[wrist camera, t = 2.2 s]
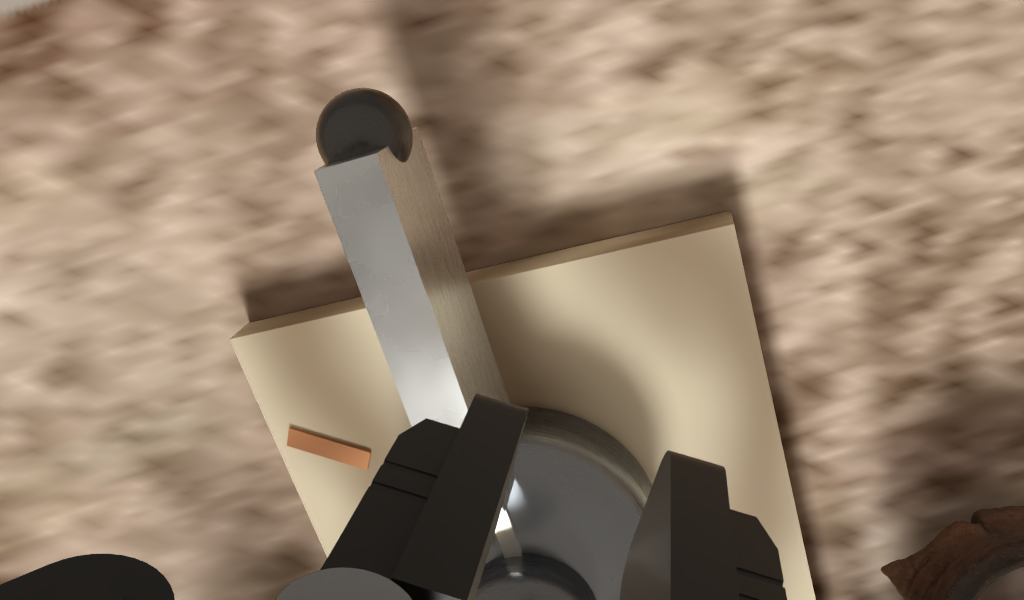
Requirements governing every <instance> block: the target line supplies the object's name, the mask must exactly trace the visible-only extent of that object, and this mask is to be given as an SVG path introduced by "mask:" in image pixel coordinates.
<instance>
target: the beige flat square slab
mask: <svg viewBox="0 0 1024 600" xmlns="http://www.w3.org/2000/svg"><path fill="white" fill-rule="evenodd" d="M466 274H467V277H468V280H469V283H470V286H471V289H472V292H473V295H474V298H475V301H476V304H477V307H478V310H479V313H480V316H481V319H482V322H483V325H484V328H485V331H486V334H487V337H488V340H489V343H490V346H491V349H492V352H493V355H494V358H495V361H496V364H497V367H498V370H499V373H500V376H501V379H502V382H503V385H504V387H505V390H506V393H507V396H508V399H509V402H510V403H511V404H514V405H518V406H532V407H541V408H549V409H553V410H557V411H561V412H565V413H568V414H571V415H574V416H577V417H579V418H582V419H584V420H586V421H588V422H590V423H592V424H594V425H596V426H598V427H599V428H601V429H602V430H604V431H605V432H607V433H609V434H610V435H611V436H613V437H614V438H615V439H616V440H617V441H619V442H620V443H621V444H622V445H624V447H625V448H626V449H627V450H628V451H629V452H630V453H631V454H632V455H633V456H634V457H635V458H636V460H637V461H638V463H639V464H640V465H641V467H642V468H643V469H644V471H645V473H646V475H647V477H648V479H649V480H650V482H651V484H652V485H653V482H654V479H655V477H656V474H657V471H658V468H659V466H660V463H661V461H662V459H663V457H664V455H665V453H666V452H667V451H668V450H670V451H673V452H677V453H680V454H683V455H687V456H690V457H694V458H697V459H700V460H704V461H707V462H711V463H714V464H717V465H721V466H723V467H725V470H726V476H727V486H728V495H729V504H730V509H732V510H735V511H738V512H742V513H745V514H748V515H752V516H755V517H757V518H758V520H759V521H760V523H761V524H762V526H763V527H764V529H765V530H766V532H767V533H768V535H769V536H770V538H771V539H772V541H773V542H774V544H775V545H776V547H777V548H778V552H779V557H780V563H781V568H782V574H783V579H784V582H783V587H784V588H785V590H786V595H787V600H816V598H815V594H814V589H813V585H812V580H811V575H810V571H809V566H808V562H807V557H806V552H805V548H804V543H803V539H802V534H801V529H800V525H799V520H798V515H797V511H796V506H795V502H794V497H793V492H792V488H791V483H790V479H789V474H788V469H787V465H786V460H785V456H784V451H783V446H782V442H781V437H780V433H779V428H778V423H777V419H776V414H775V410H774V405H773V400H772V396H771V391H770V387H769V382H768V377H767V373H766V368H765V364H764V359H763V354H762V350H761V345H760V341H759V336H758V331H757V327H756V322H755V318H754V313H753V308H752V304H751V299H750V295H749V290H748V285H747V281H746V276H745V272H744V267H743V262H742V258H741V253H740V249H739V244H738V239H737V235H736V230H735V226H734V221H733V217H732V213H731V211H726V212H722V213H718V214H714V215H709V216H705V217H701V218H696V219H692V220H688V221H683V222H679V223H675V224H671V225H666V226H662V227H658V228H653V229H649V230H645V231H641V232H636V233H632V234H628V235H623V236H619V237H615V238H611V239H606V240H602V241H598V242H593V243H589V244H585V245H581V246H576V247H572V248H568V249H563V250H559V251H555V252H551V253H546V254H542V255H538V256H533V257H529V258H525V259H521V260H516V261H512V262H508V263H503V264H499V265H495V266H491V267H486V268H482V269H478V270H473V271H469V272H466ZM229 340H230V342H231V344H232V346H233V349H234V351H235V353H236V355H237V358H238V360H239V362H240V364H241V367H242V369H243V371H244V373H245V375H246V378H247V380H248V382H249V384H250V387H251V389H252V391H253V393H254V396H255V398H256V400H257V402H258V404H259V407H260V409H261V411H262V413H263V416H264V418H265V420H266V422H267V425H268V427H269V429H270V431H271V434H272V436H273V438H274V440H275V442H276V445H277V447H278V449H279V451H280V454H281V456H282V458H283V460H284V463H285V465H286V467H287V469H288V471H289V474H290V476H291V478H292V480H293V483H294V485H295V487H296V489H297V492H298V494H299V496H300V498H301V500H302V503H303V505H304V507H305V509H306V512H307V514H308V516H309V518H310V521H311V523H312V525H313V527H314V530H315V532H316V534H317V536H318V538H319V541H320V543H321V545H322V547H323V550H324V552H325V554H326V556H327V558H328V556H329V554H330V553H331V551H332V549H333V548H334V546H335V544H336V542H337V541H338V539H339V537H340V535H341V534H342V532H343V530H344V529H345V527H346V525H347V523H348V522H349V520H350V518H351V516H352V515H353V513H354V511H355V510H356V508H357V506H358V504H359V503H360V501H361V499H362V497H363V496H364V494H365V492H366V491H367V489H368V487H369V486H371V483H372V480H373V478H374V477H375V475H376V473H377V472H378V470H379V468H380V466H381V465H383V463H384V459H385V458H386V456H387V454H388V453H389V451H390V449H391V447H392V446H393V444H394V442H395V440H396V439H397V437H398V435H399V434H401V433H403V432H404V431H406V430H408V429H409V428H411V427H412V426H411V424H410V421H409V418H408V416H407V413H406V411H405V408H404V405H403V403H402V400H401V397H400V395H399V392H398V390H397V387H396V384H395V382H394V379H393V377H392V374H391V371H390V369H389V366H388V364H387V361H386V358H385V356H384V353H383V350H382V348H381V345H380V343H379V340H378V337H377V335H376V332H375V330H374V327H373V324H372V322H371V319H370V317H369V314H368V311H367V309H366V306H365V303H364V301H363V298H362V297H358V298H353V299H349V300H345V301H340V302H336V303H332V304H328V305H323V306H319V307H315V308H310V309H306V310H302V311H298V312H293V313H289V314H285V315H280V316H276V317H272V318H267V319H263V320H259V321H255V322H250V323H248V324H247V325H246V326H245V327H243V328H242V329H241V330H240V331H239V332H238V333H236V334H235V335H234V336H233V337H232V338H230V339H229Z"/></svg>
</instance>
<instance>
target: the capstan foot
mask: <svg viewBox="0 0 1024 600" xmlns="http://www.w3.org/2000/svg"><path fill="white" fill-rule="evenodd" d="M316 142H317V147H318V150H319V153H320V155H321V157H322V159H323V161H324V163H325V165H323V166H322V167H320V168H318V169H317V170H315V171H314V173H315V176H316V178H317V181H318V183H319V186H320V189H321V191H322V194H323V196H324V199H325V202H326V204H327V207H328V210H329V212H330V215H331V217H332V220H333V223H334V225H335V228H336V230H337V233H338V236H339V238H340V241H341V243H342V246H343V249H344V251H345V254H346V257H347V259H348V262H349V264H350V267H351V270H352V272H353V275H354V277H355V280H356V283H357V285H358V288H359V290H360V293H361V296H362V298H363V301H364V303H365V306H366V309H367V311H368V314H369V317H370V319H371V322H372V324H373V327H374V330H375V332H376V335H377V337H378V340H379V343H380V345H381V348H382V350H383V353H384V356H385V358H386V361H387V364H388V366H389V369H390V371H391V374H392V377H393V379H394V382H395V384H396V387H397V390H398V392H399V395H400V397H401V400H402V403H403V405H404V408H405V411H406V413H407V416H408V418H409V421H410V424H411V426H412V427H413V426H414V425H416V424H418V423H419V422H421V421H423V420H424V419H426V418H427V419H431V420H434V421H437V422H441V423H444V424H447V425H451V426H454V427H457V428H460V427H461V425H462V422H463V420H464V418H465V416H466V414H467V411H468V409H469V407H470V405H471V403H472V400H473V398H474V396H475V395H476V394H480V395H484V396H487V397H490V398H494V399H497V400H501V401H504V402H507V403H510V402H509V399H508V396H507V393H506V390H505V387H504V385H503V382H502V379H501V376H500V373H499V370H498V367H497V364H496V361H495V358H494V355H493V352H492V349H491V346H490V343H489V340H488V337H487V334H486V331H485V328H484V325H483V322H482V319H481V316H480V313H479V310H478V307H477V304H476V301H475V298H474V295H473V292H472V289H471V286H470V283H469V280H468V277H467V274H466V271H465V268H464V265H463V262H462V259H461V256H460V253H459V250H458V247H457V244H456V241H455V238H454V235H453V232H452V229H451V226H450V223H449V220H448V217H447V214H446V211H445V208H444V205H443V203H442V200H441V197H440V194H439V191H438V188H437V185H436V182H435V179H434V176H433V173H432V170H431V167H430V164H429V161H428V158H427V155H426V152H425V149H424V146H423V143H422V140H421V137H420V134H419V131H418V128H417V127H416V128H413V129H412V127H411V123H410V120H409V118H408V116H407V114H406V112H405V111H404V109H403V108H402V107H401V106H400V104H399V103H398V102H397V101H395V100H394V99H393V98H392V97H390V96H389V95H387V94H385V93H383V92H381V91H378V90H375V89H369V88H356V89H351V90H347V91H345V92H342V93H341V94H339V95H337V96H336V97H334V98H333V99H332V100H331V101H330V102H329V103H328V104H327V105H326V106H325V108H324V109H323V111H322V113H321V115H320V117H319V120H318V123H317V128H316ZM521 407H524V408H528V409H529V411H528V415H527V418H526V422H525V426H524V430H523V433H522V437H521V440H520V444H519V448H518V451H517V455H516V459H515V462H514V466H513V469H512V473H511V477H510V480H509V484H508V488H507V491H506V495H505V499H504V502H503V506H502V509H501V513H500V516H499V520H498V523H497V527H496V530H495V534H494V537H493V540H492V544H491V547H490V550H489V553H488V557H487V560H486V563H485V566H484V570H483V573H482V576H481V579H480V583H479V586H478V589H477V592H476V595H475V599H474V600H620V591H621V583H622V577H623V572H624V568H625V563H626V559H627V556H628V552H629V549H630V545H631V542H632V539H633V537H634V534H635V531H636V529H637V526H638V523H639V520H640V518H641V515H642V512H643V509H644V507H645V504H646V501H647V499H648V496H649V493H650V490H651V488H652V484H651V482H650V480H649V479H648V477H647V475H646V473H645V471H644V469H643V468H642V467H641V465H640V464H639V463H638V461H637V460H636V458H635V457H634V456H633V455H632V454H631V453H630V452H629V451H628V450H627V449H626V448H625V447H624V445H622V444H621V443H620V442H619V441H617V440H616V439H615V438H614V437H613V436H611V435H610V434H609V433H607V432H605V431H604V430H602V429H601V428H599V427H598V426H596V425H594V424H592V423H590V422H588V421H586V420H584V419H582V418H579V417H577V416H574V415H571V414H568V413H565V412H561V411H557V410H553V409H549V408H541V407H532V406H521Z"/></svg>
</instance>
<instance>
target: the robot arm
mask: <svg viewBox="0 0 1024 600" xmlns="http://www.w3.org/2000/svg"><path fill="white" fill-rule="evenodd" d="M528 411H529V409H528V408H524V407H521V406H518V405H514V404H511V403H507V402H504V401H501V400H497V399H494V398H490V397H487V396H484V395H480V394H476V395H475V396H474V398H473V400H472V403H471V405H470V407H469V409H468V411H467V414H466V416H465V418H464V420H463V422H462V425H461V427H460V428H457V427H454V426H451V425H447V424H444V423H441V422H437V421H434V420H431V419H427V418H426V419H424V420H423V421H421V422H419V423H418V424H416V425H414V426H413V427H411V428H409V429H408V430H406V431H404V432H403V433H401V434H399V435H398V437H397V439H396V440H395V442H394V444H393V446H392V447H391V449H390V451H389V453H388V454H387V456H386V458H385V459H384V463H383V465H381V466H380V468H379V470H378V472H377V473H376V475H375V477H374V478H373V480H372V483H371V486H369V487H368V489H367V491H366V492H365V494H364V496H363V497H362V499H361V501H360V503H359V504H358V506H357V508H356V510H355V511H354V513H353V515H352V516H351V518H350V520H349V522H348V523H347V525H346V527H345V529H344V530H343V532H342V534H341V535H340V537H339V539H338V541H337V542H336V544H335V546H334V548H333V549H332V551H331V553H330V554H329V556H328V558H327V560H326V561H325V563H324V565H323V567H322V568H321V569H320V570H319V571H316V572H313V573H310V574H307V575H305V576H303V577H301V578H299V579H297V580H295V581H294V582H293V583H291V584H290V585H289V586H287V587H286V588H285V589H284V590H283V591H282V592H281V593H280V594H279V595H278V597H277V598H276V600H474V599H475V595H476V592H477V589H478V586H479V583H480V579H481V576H482V573H483V570H484V566H485V563H486V560H487V557H488V553H489V550H490V547H491V544H492V540H493V537H494V534H495V530H496V527H497V523H498V520H499V516H500V513H501V509H502V506H503V502H504V499H505V495H506V491H507V488H508V484H509V480H510V477H511V473H512V469H513V466H514V462H515V459H516V455H517V451H518V448H519V444H520V440H521V437H522V433H523V430H524V426H525V422H526V418H527V415H528ZM783 582H784V579H783V574H782V568H781V563H780V557H779V552H778V548H777V547H776V545H775V544H774V542H773V541H772V539H771V538H770V536H769V535H768V533H767V532H766V530H765V529H764V527H763V526H762V524H761V523H760V521H759V520H758V518H757V517H755V516H752V515H748V514H745V513H742V512H738V511H735V510H732V509H730V504H729V495H728V486H727V476H726V470H725V467H723V466H721V465H717V464H714V463H711V462H707V461H704V460H700V459H697V458H694V457H690V456H687V455H683V454H680V453H677V452H673V451H670V450H668V451H667V452H666V453H665V455H664V457H663V459H662V461H661V463H660V466H659V468H658V471H657V474H656V477H655V479H654V482H653V485H652V488H651V490H650V493H649V496H648V499H647V501H646V504H645V507H644V509H643V512H642V515H641V518H640V520H639V523H638V526H637V529H636V531H635V534H634V537H633V539H632V542H631V545H630V549H629V552H628V556H627V559H626V563H625V568H624V572H623V577H622V583H621V591H620V600H787V595H786V590H785V588H784V587H783ZM0 600H174V593H173V591H172V588H171V586H170V584H169V582H168V581H167V579H166V578H165V577H164V576H163V575H162V574H161V573H160V572H159V571H158V570H157V569H156V568H154V567H152V566H151V565H149V564H147V563H145V562H143V561H140V560H138V559H135V558H131V557H127V556H123V555H114V554H90V555H82V556H76V557H72V558H68V559H63V560H60V561H58V562H55V563H52V564H49V565H47V566H44V567H42V568H39V569H37V570H35V571H32V572H30V573H27V574H25V575H23V576H20V577H18V578H15V579H13V580H11V581H8V582H6V583H3V584H1V585H0Z"/></svg>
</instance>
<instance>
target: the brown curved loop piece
mask: <svg viewBox="0 0 1024 600" xmlns="http://www.w3.org/2000/svg"><path fill="white" fill-rule="evenodd" d="M1022 567H1024V506H1009V507H1002V508H992V509H982V510H978V511H976V512H975V513H974V514H973V515H972V519H971V523H968V522H964V521H956V522H954V523H952V524H951V525H949V526H948V527H946V528H945V529H944V530H942V531H941V532H940V533H939V534H938V535H937V537H936V538H935V539H934V540H933V541H931V542H930V543H929V544H928V545H927V546H925V547H924V548H923V549H921V550H920V551H918V552H917V553H915V554H913V555H911V556H909V557H907V558H905V559H902V560H896V561H894V562H891V563H889V564H887V565H885V566H883V567H882V568H881V571H882V573H883V574H885V575H886V576H887V577H888V578H889V579H890V580H891V582H892V583H893V584H894V586H895V587H896V588H897V590H898V592H899V593H900V594H901V595H902V596H903V597H904V599H905V600H977V598H978V597H979V595H980V594H981V593H982V592H983V591H984V590H985V589H986V588H987V587H988V586H989V585H990V584H991V583H993V581H994V580H995V579H997V578H998V577H1000V576H1002V575H1004V574H1006V573H1008V572H1011V571H1013V570H1015V569H1018V568H1022Z"/></svg>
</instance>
